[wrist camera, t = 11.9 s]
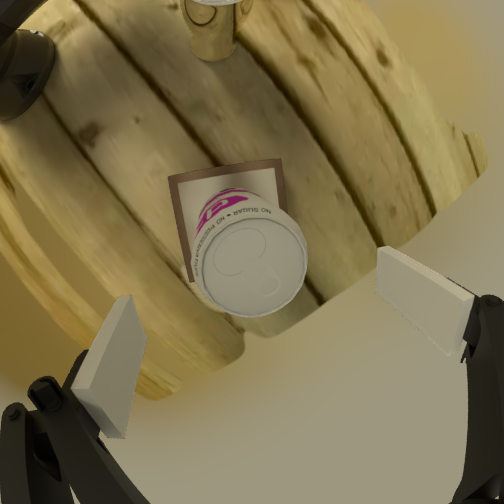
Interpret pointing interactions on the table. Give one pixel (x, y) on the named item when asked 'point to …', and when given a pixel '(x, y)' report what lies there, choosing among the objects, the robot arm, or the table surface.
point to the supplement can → (247, 254)
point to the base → (217, 179)
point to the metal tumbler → (214, 25)
